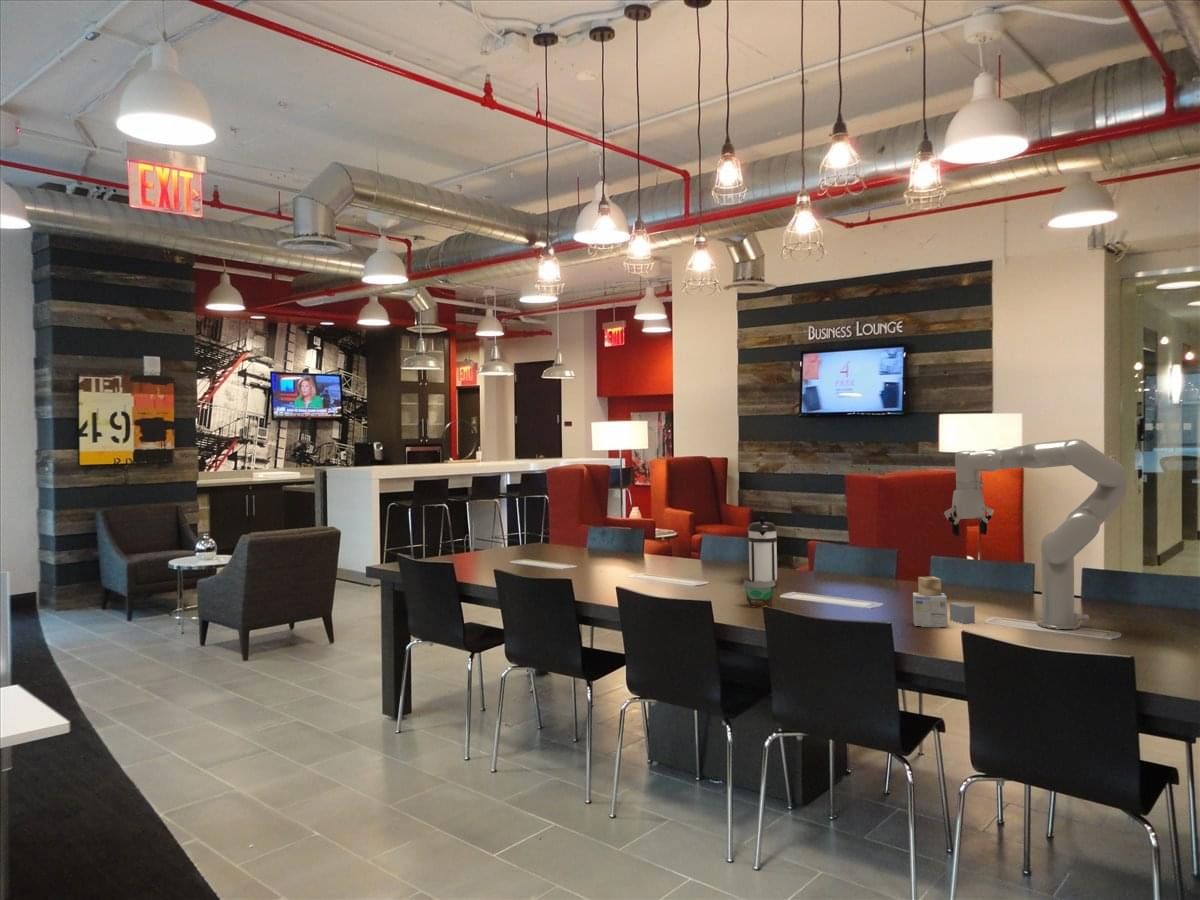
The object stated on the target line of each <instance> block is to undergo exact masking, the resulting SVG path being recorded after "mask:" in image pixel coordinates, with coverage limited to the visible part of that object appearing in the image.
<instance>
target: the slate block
mask: <svg viewBox="0 0 1200 900" xmlns="http://www.w3.org/2000/svg"><path fill="white" fill-rule="evenodd" d="M975 610H976V609H975V605H972V604H968V603H965V602H959V601H958V602H951V603H949V620H950V621H951V620H953V621H952V622H955V621H956V623H958V622H959V624H961V623H962V624H961V625H969V624H968V623H973V624H975V623H976V622H975V621H976V618H975V617H976V616H975V615H976V612H975Z"/></svg>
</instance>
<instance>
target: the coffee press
mask: <svg viewBox="0 0 1200 900" xmlns="http://www.w3.org/2000/svg"><path fill="white" fill-rule="evenodd" d="M765 520H766V518H765V517H764V516H760V517H759V521H756V522H752V523H750V524H749V525H748V527H747V531H748V536H747V540H748V562H749V563H748V566H749V567H748V569H749V571H748V573H749V574H748V575H749V580H750V581H751V582H754V581H764V582H769V581H773V580H774V581H775V585H777V586H778V584H777V580H778V556H777V555H778V554H777V553H778V552H777V549H778V547H777V545H778V544H777V541H778V536H777V531H778V528H777V527H776V525H775V524H774V523H773V522H769V521H765Z"/></svg>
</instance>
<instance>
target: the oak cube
mask: <svg viewBox="0 0 1200 900" xmlns="http://www.w3.org/2000/svg"><path fill="white" fill-rule="evenodd" d="M917 582H918V583H917V585H918V587H917V588H918V592H917V593H920V594H922V595H924V596H940V595H941V593H942V579H941V578H939V577H936V576H918V577H917Z"/></svg>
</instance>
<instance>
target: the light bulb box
mask: <svg viewBox="0 0 1200 900" xmlns="http://www.w3.org/2000/svg"><path fill="white" fill-rule="evenodd" d="M947 599H948V598H947V595H946V594H945V593H944V592H941V595H940V596H924V595H922V594H920V593H918V592H912V613H913V624H914V625H915V626H921V627H920V628H940V627H947V628H948V600H947ZM914 625H913V626H914ZM915 626H914V627H915Z"/></svg>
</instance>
